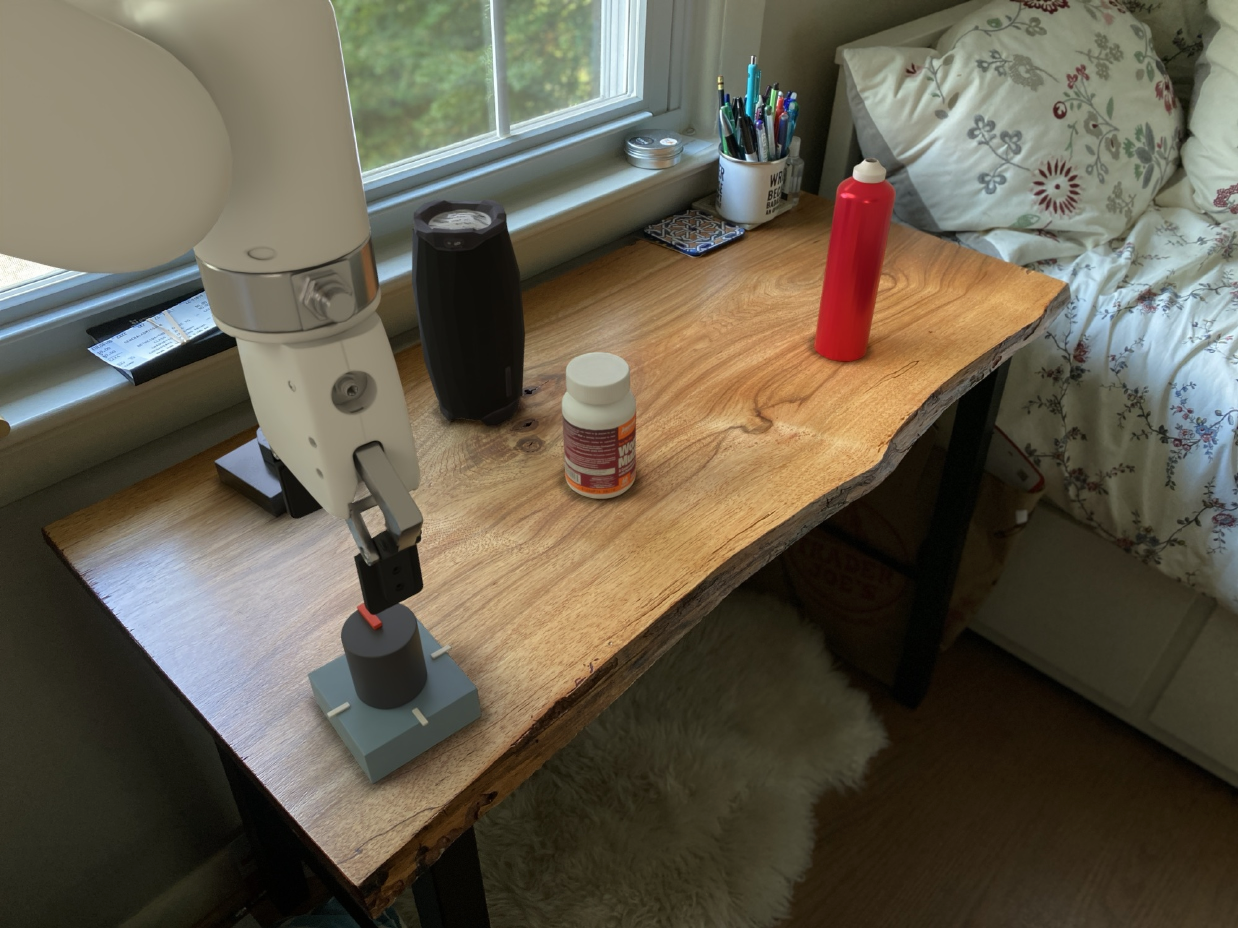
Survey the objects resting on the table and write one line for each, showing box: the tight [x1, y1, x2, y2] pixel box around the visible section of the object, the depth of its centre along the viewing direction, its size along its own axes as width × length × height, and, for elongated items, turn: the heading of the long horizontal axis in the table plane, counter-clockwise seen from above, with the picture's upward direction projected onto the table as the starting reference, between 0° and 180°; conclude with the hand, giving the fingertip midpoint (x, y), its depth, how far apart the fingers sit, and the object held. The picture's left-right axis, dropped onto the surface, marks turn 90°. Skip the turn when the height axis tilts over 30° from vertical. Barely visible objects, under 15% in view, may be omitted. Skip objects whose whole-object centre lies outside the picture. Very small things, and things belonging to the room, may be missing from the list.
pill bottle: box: [561, 351, 637, 500], centre depth 78 cm, size 6×6×11 cm
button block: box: [213, 426, 288, 519], centre depth 82 cm, size 12×8×4 cm, turn 142°
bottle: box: [813, 157, 897, 362], centre depth 92 cm, size 6×6×20 cm
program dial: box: [340, 602, 427, 709], centre depth 59 cm, size 5×5×5 cm
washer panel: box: [307, 615, 482, 784], centre depth 61 cm, size 9×9×3 cm
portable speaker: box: [411, 198, 526, 427], centre depth 84 cm, size 9×9×20 cm
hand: (353, 551), depth 53 cm, fingers open, 9 cm apart
